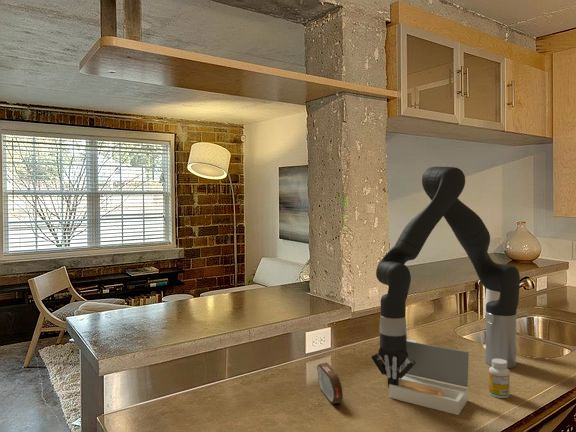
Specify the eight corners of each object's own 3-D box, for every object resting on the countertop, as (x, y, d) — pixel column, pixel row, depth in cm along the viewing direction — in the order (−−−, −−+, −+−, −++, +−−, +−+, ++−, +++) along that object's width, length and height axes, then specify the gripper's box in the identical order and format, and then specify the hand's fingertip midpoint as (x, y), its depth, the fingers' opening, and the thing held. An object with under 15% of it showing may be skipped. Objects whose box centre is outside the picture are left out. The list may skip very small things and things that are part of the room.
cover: (400, 372, 138) (401, 371, 139) (467, 387, 127) (468, 386, 128) (401, 340, 138) (402, 340, 139) (468, 352, 127) (468, 351, 128)
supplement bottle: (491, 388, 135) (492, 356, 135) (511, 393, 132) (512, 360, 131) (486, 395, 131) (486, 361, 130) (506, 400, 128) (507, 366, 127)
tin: (343, 408, 125) (343, 377, 124) (332, 409, 124) (332, 378, 124) (325, 385, 140) (325, 358, 139) (315, 386, 139) (315, 359, 138)
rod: (399, 392, 134) (398, 382, 134) (445, 402, 127) (445, 391, 127) (395, 396, 131) (395, 386, 131) (442, 407, 125) (442, 396, 124)
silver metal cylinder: (507, 348, 168) (508, 283, 166) (494, 352, 165) (495, 285, 163) (492, 343, 174) (492, 280, 172) (479, 346, 171) (479, 282, 170)
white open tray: (401, 384, 139) (401, 373, 139) (467, 400, 128) (467, 387, 128) (388, 397, 131) (388, 385, 130) (458, 415, 120) (458, 401, 120)
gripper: (420, 331, 132) (420, 390, 133) (376, 324, 139) (377, 380, 140) (410, 338, 126) (410, 400, 127) (366, 330, 133) (366, 389, 134)
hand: (393, 389), depth 134 cm, fingers closed
